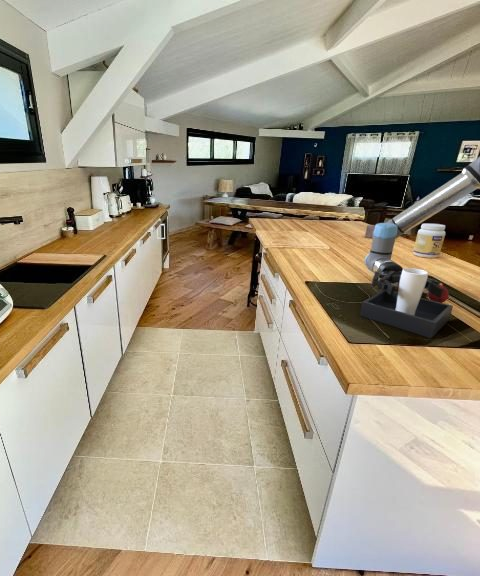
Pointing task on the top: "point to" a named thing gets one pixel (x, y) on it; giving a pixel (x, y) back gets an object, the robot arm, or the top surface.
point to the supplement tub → (429, 240)
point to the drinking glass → (410, 289)
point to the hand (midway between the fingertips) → (416, 292)
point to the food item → (370, 231)
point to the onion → (443, 297)
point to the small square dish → (425, 294)
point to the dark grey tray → (424, 321)
